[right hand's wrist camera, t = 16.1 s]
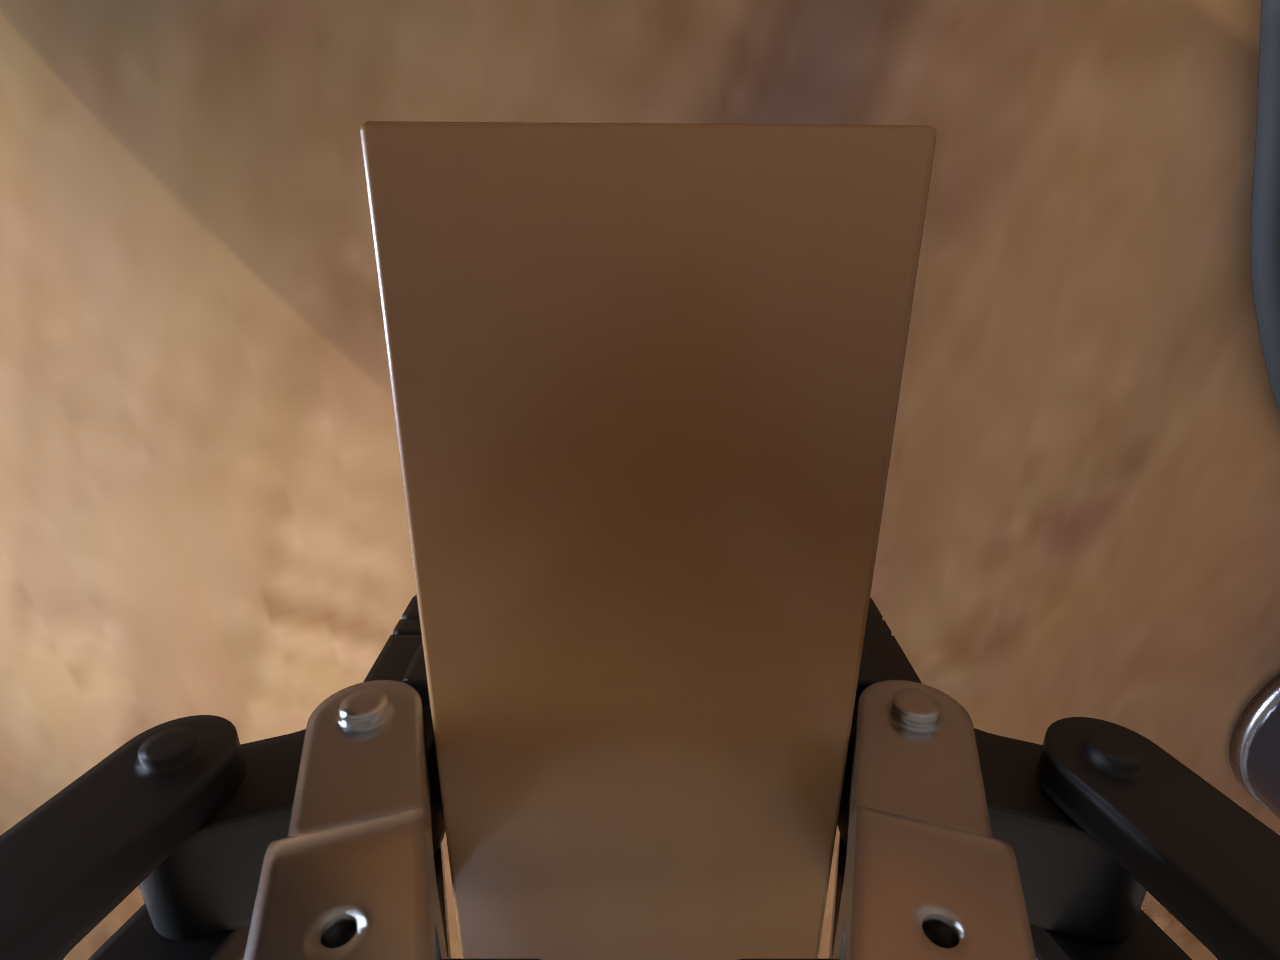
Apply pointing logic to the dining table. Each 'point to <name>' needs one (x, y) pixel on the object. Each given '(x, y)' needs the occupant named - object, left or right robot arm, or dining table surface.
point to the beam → (644, 508)
